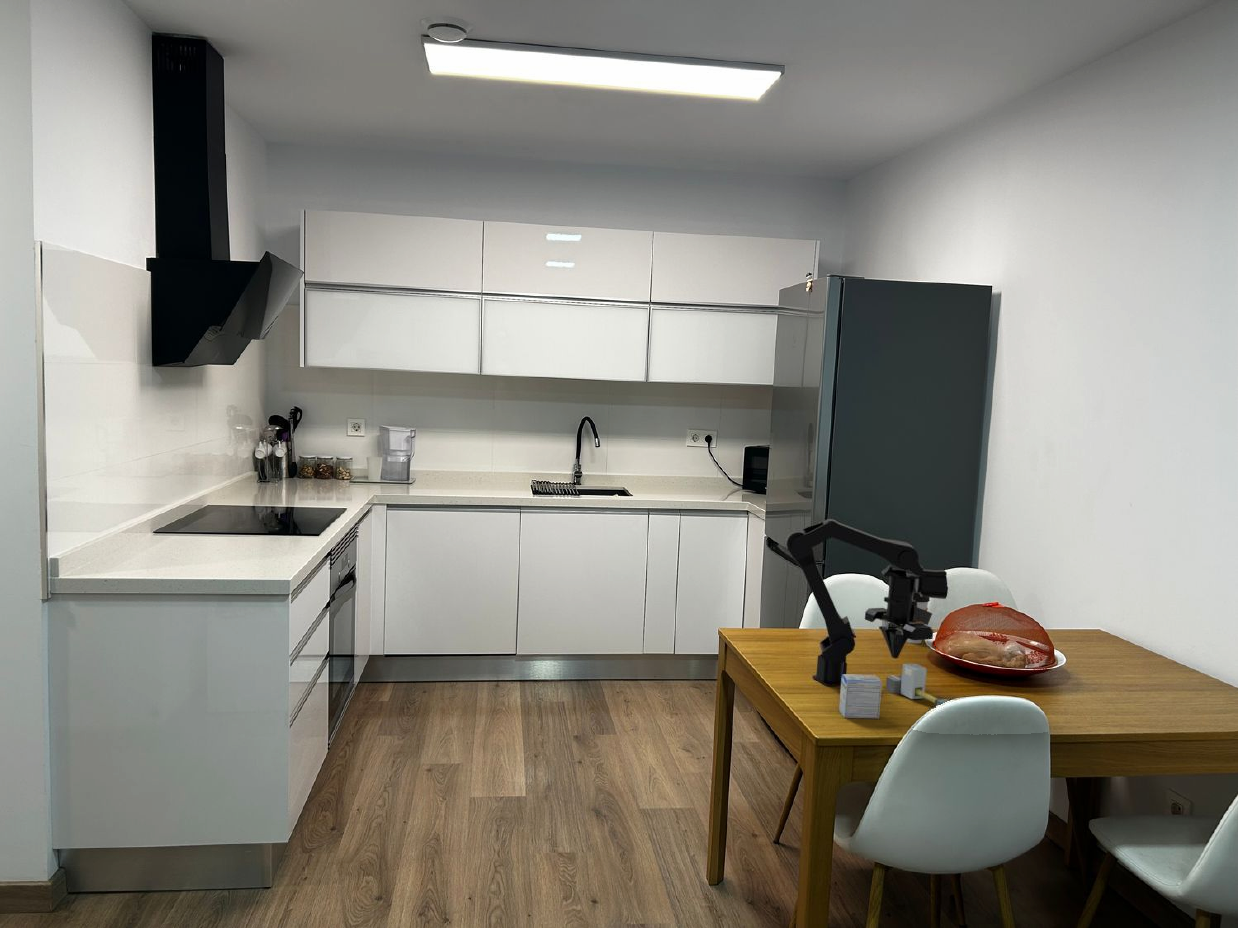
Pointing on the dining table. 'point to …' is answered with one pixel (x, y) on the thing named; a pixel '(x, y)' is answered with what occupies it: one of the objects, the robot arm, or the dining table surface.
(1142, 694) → the dining table surface
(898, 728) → the dining table surface
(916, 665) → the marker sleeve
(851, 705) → the medicine box
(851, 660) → the dining table surface
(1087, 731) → the dining table surface
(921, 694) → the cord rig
